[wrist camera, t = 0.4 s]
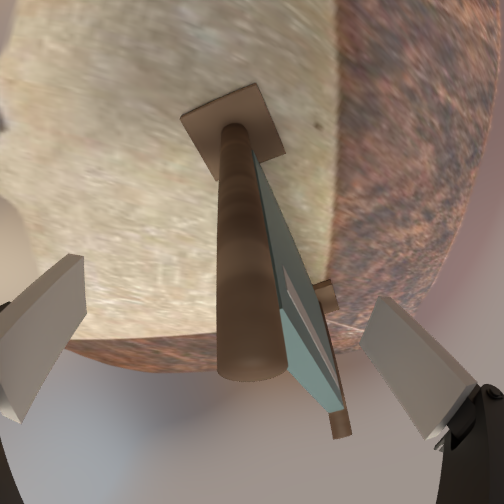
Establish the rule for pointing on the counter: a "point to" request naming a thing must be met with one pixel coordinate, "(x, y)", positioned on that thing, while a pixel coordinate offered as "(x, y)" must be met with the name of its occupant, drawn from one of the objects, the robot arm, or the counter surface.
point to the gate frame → (248, 242)
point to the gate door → (298, 307)
